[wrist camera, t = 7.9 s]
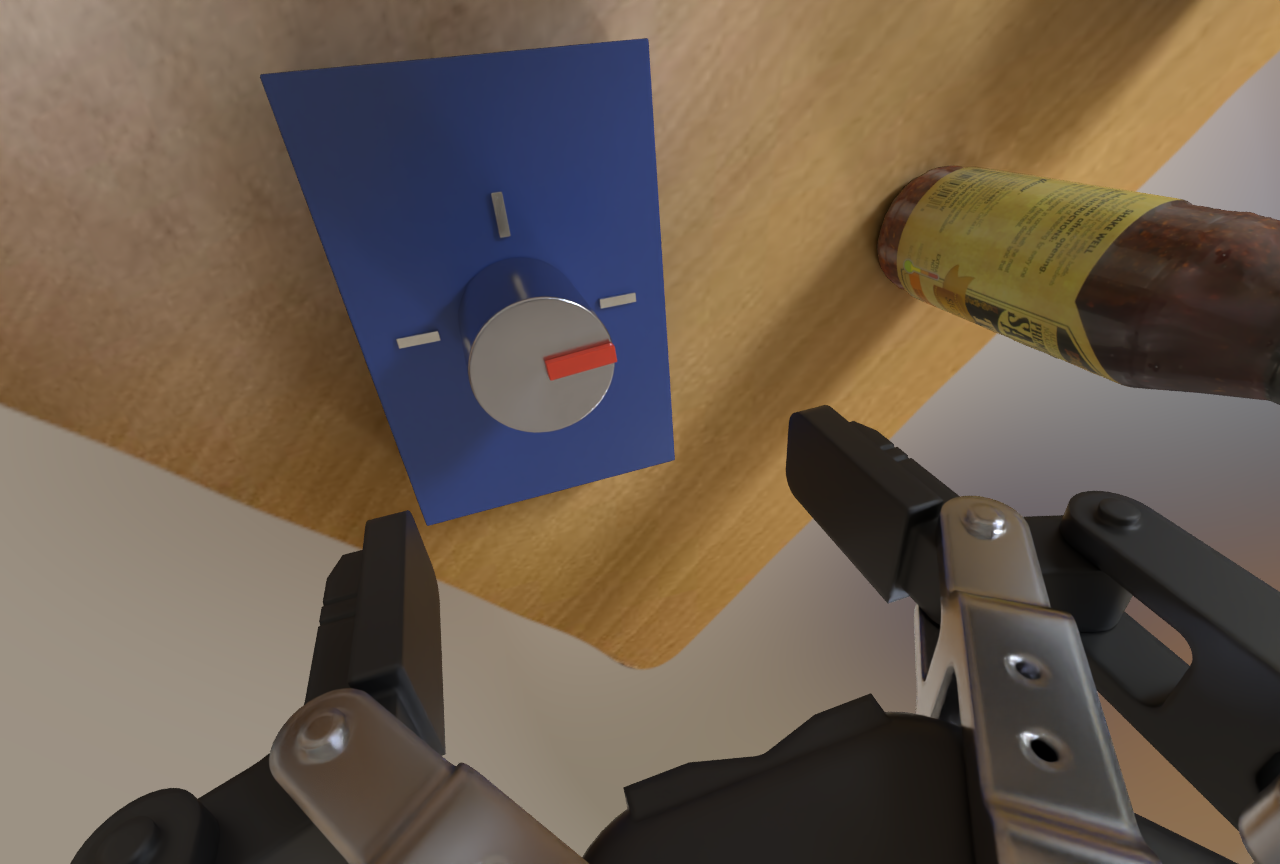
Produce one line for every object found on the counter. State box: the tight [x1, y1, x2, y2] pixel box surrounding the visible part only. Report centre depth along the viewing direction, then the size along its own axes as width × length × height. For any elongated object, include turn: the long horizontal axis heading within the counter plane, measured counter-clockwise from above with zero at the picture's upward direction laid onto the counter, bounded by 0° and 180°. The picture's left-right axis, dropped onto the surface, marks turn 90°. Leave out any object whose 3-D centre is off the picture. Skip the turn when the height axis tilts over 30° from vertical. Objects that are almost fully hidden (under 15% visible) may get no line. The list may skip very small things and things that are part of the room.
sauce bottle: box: [877, 166, 1280, 405], centre depth 22 cm, size 6×6×20 cm
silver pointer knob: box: [458, 257, 617, 433], centre depth 19 cm, size 4×4×5 cm
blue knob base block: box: [260, 38, 675, 526], centre depth 23 cm, size 16×11×4 cm
